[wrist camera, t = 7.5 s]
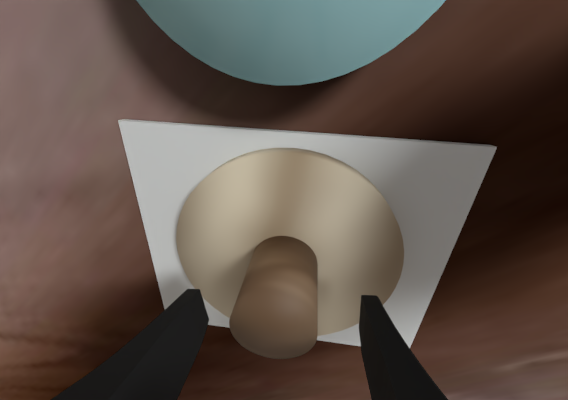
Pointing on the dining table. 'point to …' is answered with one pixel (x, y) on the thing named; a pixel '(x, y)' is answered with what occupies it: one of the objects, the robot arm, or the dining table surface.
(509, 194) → the dining table surface
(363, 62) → the light blue flat disc
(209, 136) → the mat
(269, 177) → the lid
